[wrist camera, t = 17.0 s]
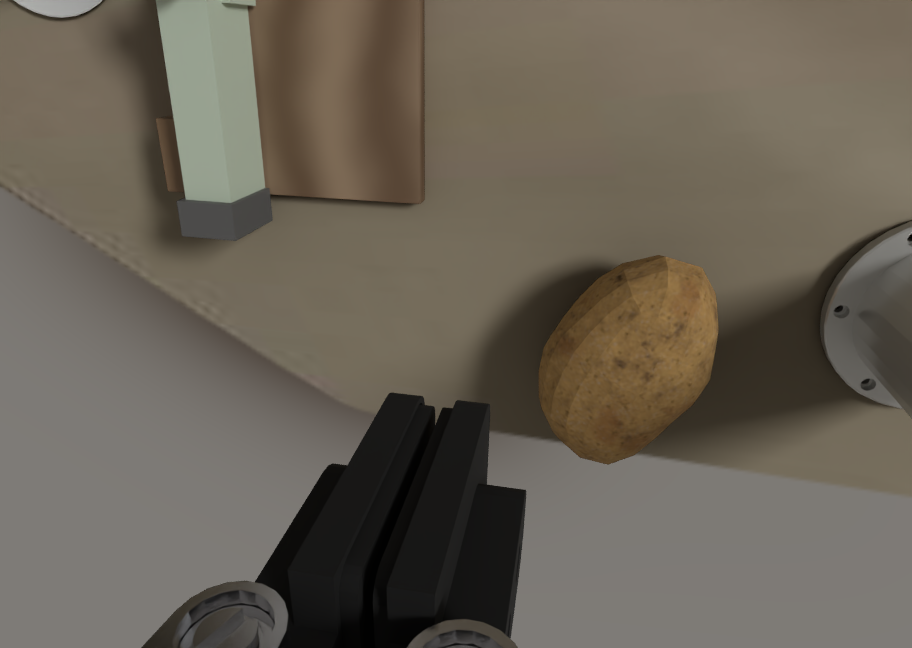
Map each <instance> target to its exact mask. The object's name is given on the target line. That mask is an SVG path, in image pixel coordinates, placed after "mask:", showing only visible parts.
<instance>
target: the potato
mask: <svg viewBox="0 0 912 648" xmlns="http://www.w3.org/2000/svg"><path fill="white" fill-rule="evenodd" d="M718 331H719V330H718V315H717V302H716V294H715V292H714V290H713V288H712V286H711V284H710V282H709V280H708V278H707V276H706V274H705V273H704V271H703V269H702V268H701V267H698V266H694V265H691V264H688V263H684V262H681V261H678V260H674V259H671V258H668V257H664V256H660V255H657V256H653V257H648V258H644V259H640V260H635V261H631V262H627V263H623V264H621V265H619V266H618V267H616V268H614V269H613V270H611V271H610V272H608V273H606V274H605V275H603V276H601V277H600V278H598V279H597V280H596V281H595V282H594V283H593V284H592V285H591V286H590V287H589V288H588V289H587V290H586V291H585V292H584V293H583V294H582V295H581V296H580V297H579V298H578V299H577V301H576V302H575V303H574V304H573V306H572V307H571V308H570V309H569V311H568V312H567V313H566V314H565V316H564V317H563V318H562V320H561V321H560V323H559V324H558V326H557V327H556V329H555V330H554V331H553V333H552V334H551V336H550V337H549V339H548V341H547V343H546V345H545V346H544V349H543V353H542V358H541V363H540V368H539V399H540V403H541V408H542V410H543V412H544V414H545V416H546V418H547V420H548V422H549V425H550V427H551V429H552V431H553V432H554V433H555V435H556V436H557V437H558V438H559V439H560V440H561V441H562V442H563V443H564V444H565V445H567V446H568V447H569V448H570V449H571V450H572V451H573V452H574V453H576V454H577V455H578V456H579V457H580V458H584V459H588V460H592V461H596V462H600V463H604V464H611V463H614V462H617V461H619V460H622V459H625V458H628V457H631V456H633V455H635V454H636V453H637V452H639V451H640V450H641V449H643V448H644V447H645V446H646V445H648V444H649V443H650V442H651V441H653V440H654V439H655V438H656V437H657V436H658V435H659V434H660V433H661V432H663V431H664V430H665V429H666V428H667V427H668V426H669V425H670V424H671V423H672V422H673V421H674V420H675V419H677V418H678V417H679V416H680V415H681V414H683V413H684V412H685V411H686V410H687V409H689V408H690V407H691V406H692V405H693V404H694V402H695V401H696V400H697V399H698V397H699V396H700V394H701V393H702V391H703V390H704V388H705V387H706V385H707V384H708V382H709V381H710V377H711V372H712V366H713V361H714V355H715V349H716V343H717V337H718Z"/></svg>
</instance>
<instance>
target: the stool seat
mask: <svg viewBox="0 0 912 648" xmlns="http://www.w3.org/2000/svg"><path fill="white" fill-rule="evenodd" d="M248 16H249V26H250V37H251V47H252V57H253V67H254V78H255V88H256V98H257V108H258V119H259V129H260V139H261V149H262V159H263V170H264V180H265V188H269V189H270V194H274V195H290V196H305V197H321V198H336V199H352V200H368V201H383V202H399V203H414V204H421V203H422V202H423V201H424V200H425V148H424V0H256V6H248ZM156 123H157V129H158V135H159V141H160V147H161V153H162V159H163V165H164V171H165V176H166V182H167V188H168V191H171V192H185V191H184V184H183V177H182V171H181V164H180V158H179V151H178V144H177V138H176V131H175V124H174V118H173V116H167V117H161V118H156Z"/></svg>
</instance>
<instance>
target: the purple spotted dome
mask: <svg viewBox="0 0 912 648" xmlns="http://www.w3.org/2000/svg"><path fill="white" fill-rule="evenodd" d="M14 1H15V2H16V3H18V4H19V5H21V6H23V7H25V8H27V9H29V10H31V11H33V12H35V13H39V14H42V15H45V16H50V17H61V18H64V17H71V16H77V15H79V14H82V13H85V12H87V11H89V10H91V9H92V8H94V7H95V6H96V5H98V4H99V3H100V2H101V1H102V0H14Z"/></svg>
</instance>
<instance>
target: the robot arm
mask: <svg viewBox="0 0 912 648" xmlns="http://www.w3.org/2000/svg"><path fill="white" fill-rule="evenodd" d="M911 234H912V221H910V222H908V223H905V224H903V225H901V226H899V227H896V228H894V229H892V230H889V231H887V232H886V233H884V234H883V235H881V236H879V237H878V238H876V239H874V240H873V241H871V242H870V243H868V244H867V245H866V246H865V247H863V248H862V249H861V250H860V251H859V252H858V253H856V254H855V255H854V256H853V257H852V258H851V259H850V260H849V261H848V262H847V264H846V265H845V266H844V267H843V268H842V270H841V271H840V272H839V273H838V274H837V276H836V278H835V279H834V281H833V283H832V285H831V286H830V288H829V290H828V292H827V295H826V298H825V300H824V303H823V306H822V309H821V319H820V334H821V342H822V346H823V348H824V351H825V354H826V356H827V359H828V360H829V362H830V363H831V365H832V366H833V368H834V369H835V371H836V372H837V373H838V374H839V375H840V377H841V378H842V379H843V380H844V381H845V382H846V383H847V385H849V386H850V387H851V388H853V389H854V390H855V391H856V392H858V393H859V394H861V395H863V396H865V397H867V398H869V399H871V400H873V401H875V402H878V403H881V404H884V405H888V406H892V407H895V408H901V409H904V410H905V411H906V413H907V414H908V415H909V416H910V417H911V418H912V238H910V239H908V237H909V235H911ZM840 305H841V306H840ZM838 306H840V308H839V309H836V310H835V308H836V307H838ZM863 380H864V381H863ZM489 426H490V405H489V404H485V403H476V402H467V401H459V400H457V401H456V402H455V405H454V407H453V409H452V408H442V410H441V413H440V415H439V418H438V420H437V423H436V425H435V408H434V406H427V405H425V402H424V398H423V396H416V395H407V394H398V393H389V395H388V396H387V397H386V399H385V401H384V403H383V404H382V406H381V408H380V410H379V411H378V413H377V415H376V417H375V418H374V420H373V422H372V424H371V425H370V427H369V429H368V431H367V432H366V434H365V436H364V438H363V439H362V441H361V443H360V445H359V446H358V448H357V450H356V451H355V453H354V455H353V457H352V458H351V461H350V462H349V464H348V465H340V464H331V465H329V466H328V467H327V468H326V469H325V470H324V472H323V473H322V475H321V476H320V478H319V480H318V481H317V483H316V484H315V486H314V488H313V489H312V491H311V493H310V494H309V496H308V497H307V499H306V501H305V502H304V504H303V505H302V507H301V509H300V510H299V512H298V514H297V515H296V517H295V518H294V520H293V522H292V523H291V525H290V526H289V528H288V530H287V531H286V533H285V534H284V536H283V538H282V539H281V541H280V542H279V544H278V546H277V547H276V549H275V551H274V552H273V554H272V555H271V557H270V559H269V560H268V562H267V564H266V565H265V567H264V568H263V570H262V571H261V573H260V575H259V576H258V578H257V580H256V581H255V582H249V581H238V582H227V583H223V584H221V585H217V586H214V587H211V588H208V589H206V590H204V591H202V592H200V593H199V594H197V595H195V596H193V597H191V598H190V599H189V600H188V601H187V602H185V603H184V604H183V605H182V606H181V607H179V608H178V609H177V610H176V611H175V612H174V613H173V614H172V615H171V616H170V617H169V618H168V620H167V621H166V622H165V623H164V624H163V625H162V626H161V627H160V628H159V629H158V630H157V631H156V632H155V633H154V635H153V636H152V637H151V638H150V639H149V640H148V641H147V642H146V643H145V644H144V645H143V647H142V648H518V647H517V646H516V644H515V643H514V642H513V641H512V640H511V639H510V638H511V630H512V623H513V616H514V615H513V614H514V608H515V600H516V593H517V585H518V577H519V569H520V559H521V550H522V539H523V529H524V516H525V503H526V490H521V489H514V488H507V487H500V486H493V485H487V467H488V447H489Z"/></svg>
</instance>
